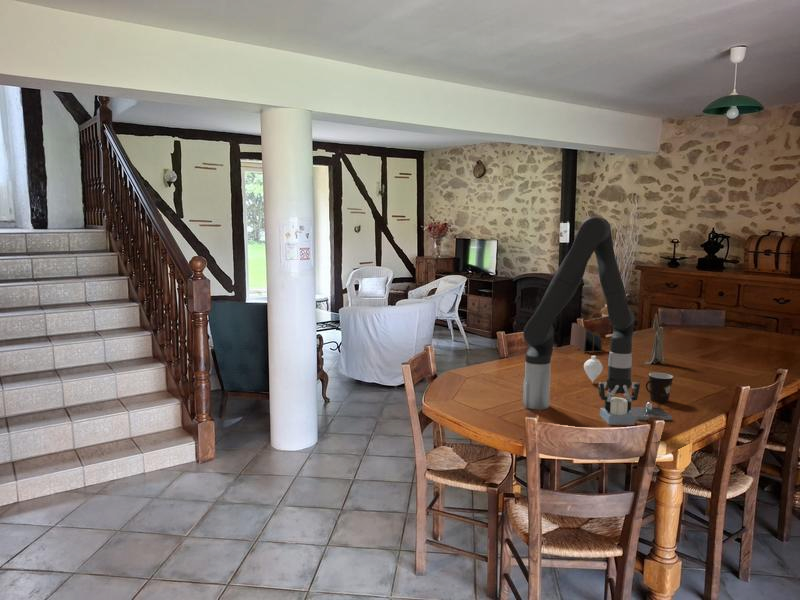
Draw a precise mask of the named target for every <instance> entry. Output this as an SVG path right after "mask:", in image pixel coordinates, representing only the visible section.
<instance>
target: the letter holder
mask: <svg viewBox="0 0 800 600" xmlns="http://www.w3.org/2000/svg"><path fill="white" fill-rule="evenodd" d="M569 343H570V346H571V345H573V346H575V348H574V349H576V348H577V349H579V350H581V351H582V352H581V351H580V352H581V353H583V352H584V353H583V354H586V353H585V352H589V353H588V354H595V353H594V352H602V351H603V340H602V338H601V337H600V336H599V335H597V334H596V333H593V332H592V331H590V330H589V329H587V328H586V327H585V326H583V325H582V324H580V323H577V322H572V323H571V332H570V342H569ZM577 349H576V350H577ZM579 350H578V351H579Z"/></svg>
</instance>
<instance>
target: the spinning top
mask: <svg viewBox="0 0 800 600" xmlns="http://www.w3.org/2000/svg"><path fill="white" fill-rule="evenodd" d="M590 357H591V358H589V359H587V360H586V361H585V362H584V364H583V369H584V371H585V373H586V375H587V377H588V378H589V380H590V381H591V383H592V384H594V381H595V380H596V379H597V378H598V377H599V376H600V374H601V373H602V371H603V368H604V367H603V364H602V362H601V361H600V360H599V359H597V356H596V355H591V356H590Z"/></svg>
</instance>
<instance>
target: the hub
mask: <svg viewBox="0 0 800 600" xmlns="http://www.w3.org/2000/svg"><path fill="white" fill-rule="evenodd" d="M630 412H631V413H632V414H633V415H634V416H635V421H647V420H648V418H650V417H660V418H662V419H664V420H665V421H666V420H667V421H668V420H673V417H672V415H670V414H669V413H668V412H667V411H665V410H664V409H662V408H661V407H660V406H659V407H657V406H655V407H653V404H652V402H650V401H648V402H647V403H646V404H645V407H644V406H643V407H641V406H640V407H639V406H637V407H636V406H631V410H630ZM667 421H666V422H667Z"/></svg>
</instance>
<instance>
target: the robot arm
mask: <svg viewBox="0 0 800 600" xmlns="http://www.w3.org/2000/svg"><path fill="white" fill-rule="evenodd" d="M611 228H612V227H611V225H610V223H609V221H608V219H606V218H604V217H601V216H600V217H599V216H592V217H588V218H586V219H585V220H583V222H582V223H581V224H580V226H579V228H578V230H577V233H576V236H575V237H574V240H573V242H572V245H571V247H570V249H569V251H568V253H567V254H566V255H565V256H564V259H563V260H562V261H561V264H560V265H559V267H558V268H557V270H556V272H555V274H554V275H553V277H552V278H551V281H550V283H549V285H548V287H547V289H546V291H545V293H544V294H543V297H542V298H541V301H540V303H539V305H538V307H537V309H536V310H535V312H534V313H533V315H532V316H531V317H530V319H528V321H527V323H526V324H525V326H524V327H523V338H524V341H525V343H527V344H528V348H527V351H526V353H525V360H524V361H525V362H524V379H523V380H522V381H523V382H522V384H523V385H522V386H523V387H522V405H523V406H524V408H525V409H531V410H538V411H539V410H540V411H541V410H546V409H548V408H549V407H550V383H551V362H552V361H551V358H552V355H553V351H554V350H553V349H554V336H555V335H554V326H553V324H554V321H555V320H556V318H557V316H558V315H560V313H561V311H562V310H563V309H564V308H565V307H566V306H567V304H569V302H570V301H571V300H572V299H573V297H574V295H575V294H576V292H577V290H578V288H579V287H580V284H581V282H582V280H583V278H584V275H585V272H586V269H587V266H588V263H589V260H590V258H591V256H592V255H593V254H594V253H595V258H596V263H597V270H598V276H599V277H598V278H599V283H600V286H601V290H602V292H603V296H604V299H605V302H606V309H607V314H608V319H609V322H610V324H611V325H612V335H611V337H610V342H609V343H610V344H609V354H608V361H607V365H608V366H607V367H608V368H607V379H606V381H597V384H598V385H597V386H598V396H599V399H601V400H602V401H604V408H605V409H606V411H607V412H610V404H611V402H610V400H611V398H612V397H615V394H616V395H617V394H621V395H624V399H626V400H627V401H628V405H627V412H629V411H630V410H631V407H632V402H633V401H638V397H639V391H640V388H641V384H640V383H639V382H637V381H635V382H634V381H632V380H631V379H632V365H633V364H632V363H633V358H632V356H633V355H632V350H633V333H634V328H635V321H636V320H635V319H636V316H635V313H634V311H633V310H632V309H631V308H630V307H629V306H628V302H627V292H626V288H625V285H624V281H623V278H622V275H621V272H620V269H619V265H618V262H617V258H616V255H615V254H616V253H615V251H614V245H613V236H612V229H611ZM607 387H608V390H607V391H606V393H605V389H606V388H607ZM630 388H632V391H631V394H630V392H629V389H630Z"/></svg>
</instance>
